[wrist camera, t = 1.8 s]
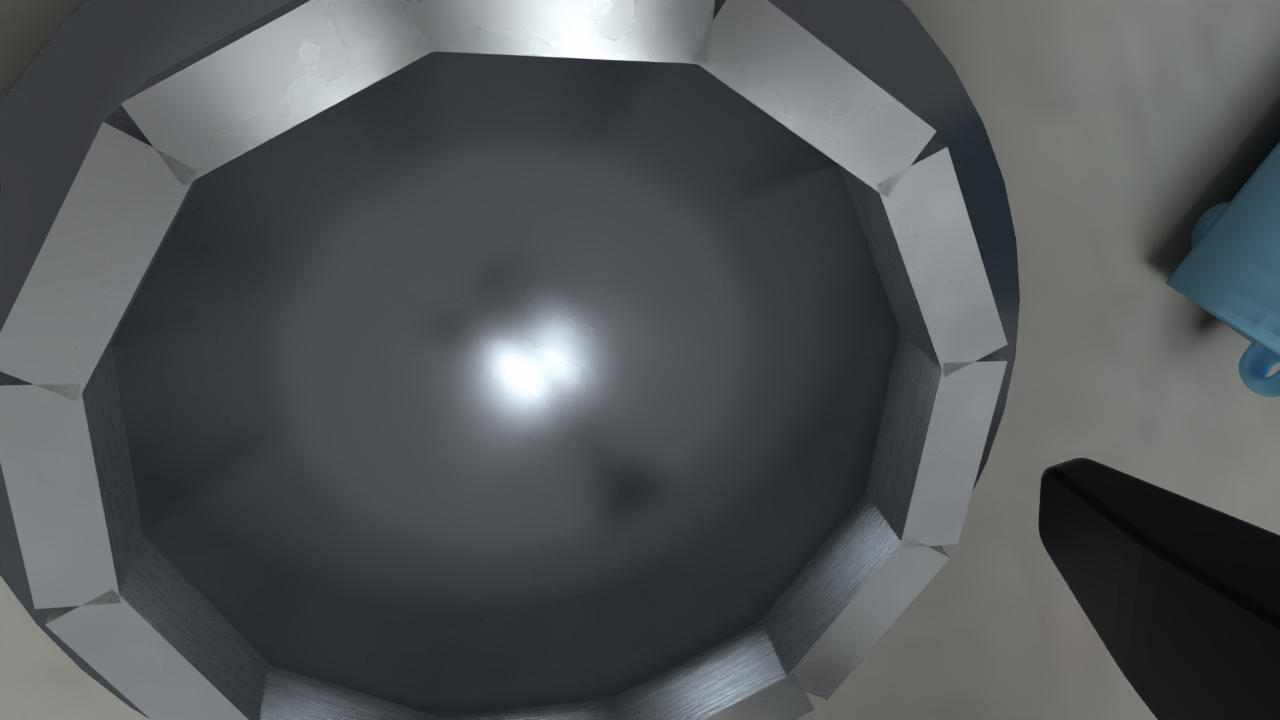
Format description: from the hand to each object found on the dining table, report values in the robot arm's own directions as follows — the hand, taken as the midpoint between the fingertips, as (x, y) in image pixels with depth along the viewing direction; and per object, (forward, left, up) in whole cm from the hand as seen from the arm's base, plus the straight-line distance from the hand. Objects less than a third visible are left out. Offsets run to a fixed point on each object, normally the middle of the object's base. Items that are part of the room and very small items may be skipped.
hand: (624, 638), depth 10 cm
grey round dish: (-3, +3, -12) cm, 13 cm away
